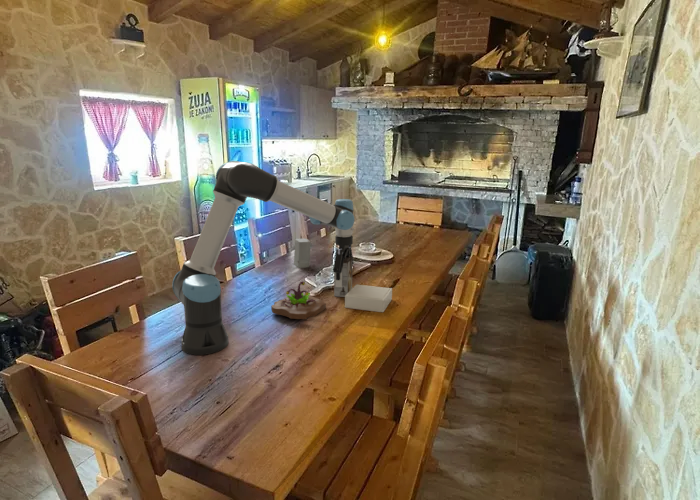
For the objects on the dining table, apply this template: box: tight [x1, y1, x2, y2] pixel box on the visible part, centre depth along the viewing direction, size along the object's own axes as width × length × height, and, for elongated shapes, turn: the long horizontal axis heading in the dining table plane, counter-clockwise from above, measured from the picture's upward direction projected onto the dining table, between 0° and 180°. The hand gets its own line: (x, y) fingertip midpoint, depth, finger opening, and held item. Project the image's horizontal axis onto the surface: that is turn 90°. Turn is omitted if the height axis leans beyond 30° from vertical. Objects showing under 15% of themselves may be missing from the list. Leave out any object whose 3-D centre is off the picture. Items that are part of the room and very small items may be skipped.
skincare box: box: [293, 237, 312, 269], centre depth 226 cm, size 8×7×16 cm
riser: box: [344, 283, 393, 313], centre depth 176 cm, size 16×16×5 cm
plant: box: [271, 281, 327, 320], centre depth 168 cm, size 20×20×11 cm
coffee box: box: [333, 256, 354, 298], centre depth 186 cm, size 9×6×16 cm
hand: (343, 282), depth 187 cm, fingers open, 13 cm apart
